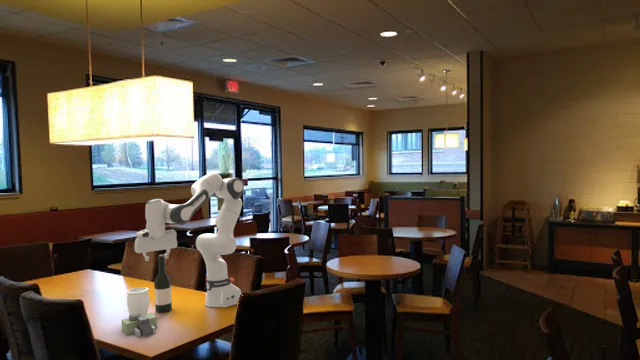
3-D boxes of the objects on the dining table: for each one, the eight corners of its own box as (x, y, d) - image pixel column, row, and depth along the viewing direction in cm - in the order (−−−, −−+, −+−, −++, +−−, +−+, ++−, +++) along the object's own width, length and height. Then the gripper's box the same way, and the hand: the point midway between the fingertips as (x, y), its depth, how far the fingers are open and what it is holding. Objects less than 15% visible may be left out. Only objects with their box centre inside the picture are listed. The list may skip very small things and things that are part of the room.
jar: (143, 313, 236) (142, 285, 235) (154, 317, 229) (152, 288, 229) (124, 319, 228) (122, 290, 227) (134, 323, 221) (132, 293, 220)
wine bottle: (175, 308, 243) (172, 253, 241) (165, 313, 235) (162, 257, 234) (162, 307, 245) (160, 253, 244) (152, 312, 238) (149, 256, 236)
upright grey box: (146, 330, 212) (146, 315, 212) (151, 334, 206) (150, 319, 206) (138, 332, 209) (137, 317, 209) (142, 336, 204) (142, 321, 204)
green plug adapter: (151, 322, 222) (151, 308, 221) (162, 331, 210) (161, 316, 209) (122, 330, 213) (121, 315, 213) (130, 339, 201) (130, 323, 201)
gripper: (174, 228, 231) (175, 255, 232) (132, 233, 219) (134, 261, 219) (178, 229, 226) (179, 257, 227) (136, 235, 214) (138, 263, 214)
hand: (157, 259), depth 223 cm, fingers open, 8 cm apart
